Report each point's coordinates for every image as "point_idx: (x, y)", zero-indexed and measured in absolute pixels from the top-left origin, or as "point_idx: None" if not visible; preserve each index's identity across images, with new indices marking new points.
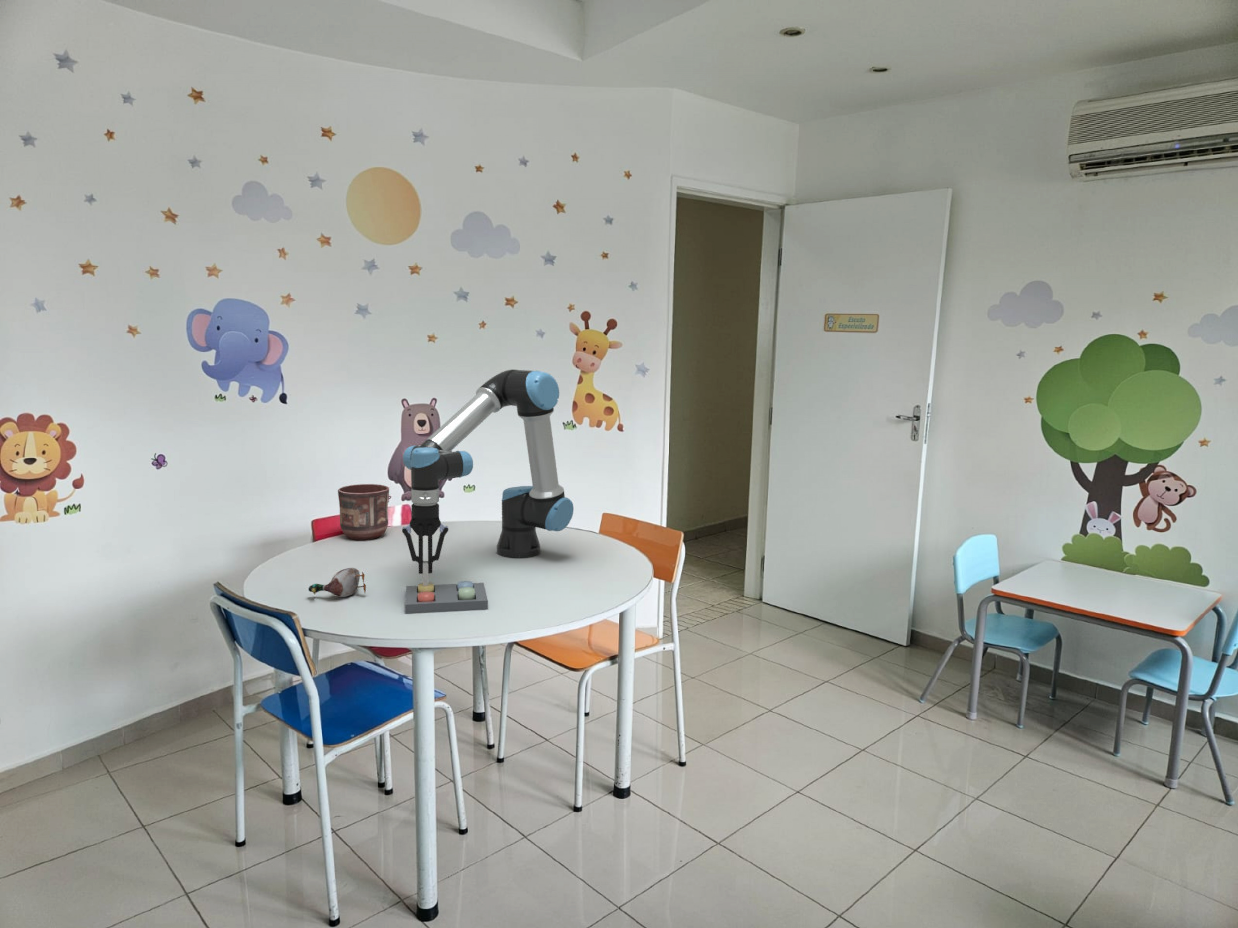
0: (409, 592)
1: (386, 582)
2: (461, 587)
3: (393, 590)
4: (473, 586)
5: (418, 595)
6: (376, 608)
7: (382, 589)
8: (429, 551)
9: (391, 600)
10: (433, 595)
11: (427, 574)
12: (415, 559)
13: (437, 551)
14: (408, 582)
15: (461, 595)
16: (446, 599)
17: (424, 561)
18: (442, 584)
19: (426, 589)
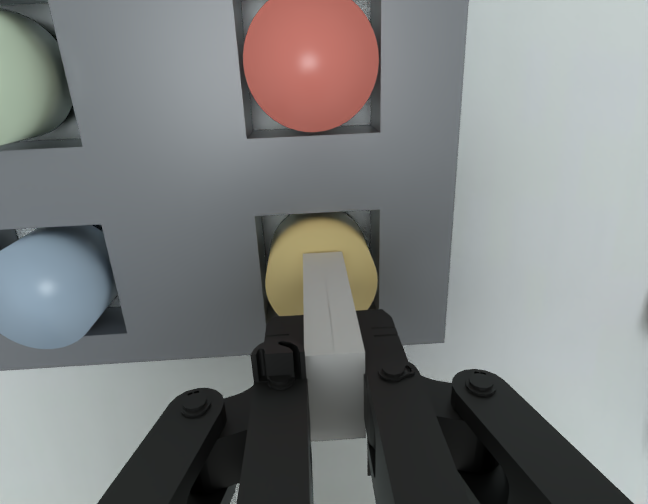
0: (428, 218)
1: None
2: (61, 248)
3: None
4: None
5: (372, 30)
6: (620, 82)
7: (545, 392)
8: (285, 482)
9: (516, 222)
10: (247, 32)
11: (310, 294)
12: (463, 384)
13: (159, 489)
14: None
15: (3, 18)
16: (146, 24)
17: (348, 421)
18: (220, 355)
19: (314, 225)
